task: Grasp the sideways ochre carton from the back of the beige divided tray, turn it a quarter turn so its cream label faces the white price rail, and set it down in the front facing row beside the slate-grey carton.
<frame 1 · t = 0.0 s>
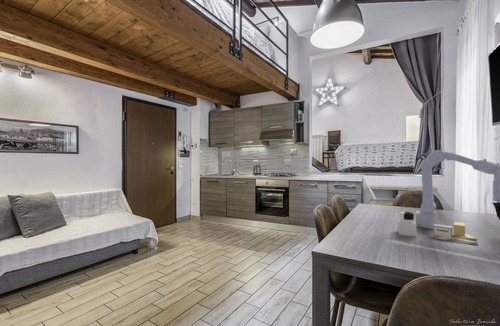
ochre carton: (459, 234, 116), point 1 cm above the table, touching beige divided tray
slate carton: (442, 237, 113), point 1 cm above the table, touching beige divided tray
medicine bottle: (406, 235, 118), on the table
beige divided tray: (453, 238, 114), on the table
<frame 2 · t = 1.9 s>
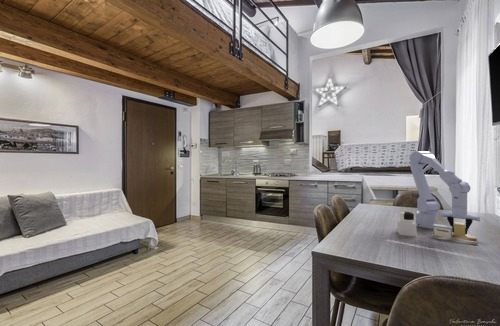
hand: (459, 233, 116), 2 cm above the table, fingers closed on ochre carton, 4 cm apart
ochre carton: (459, 234, 116), point 1 cm above the table, touching gripper, beige divided tray
everything else where it was.
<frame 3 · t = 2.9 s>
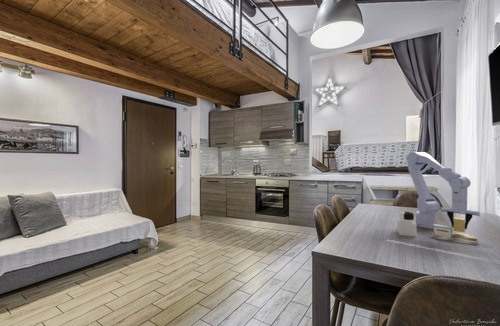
hand: (459, 228, 116), 4 cm above the table, fingers closed on ochre carton, 4 cm apart
ochre carton: (459, 229, 116), point 3 cm above the table, touching gripper
everything else where it was.
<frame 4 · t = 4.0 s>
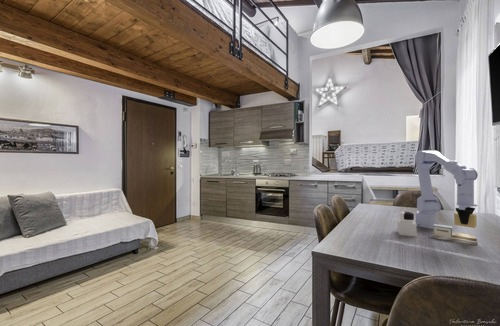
hand: (465, 223, 108), 9 cm above the table, fingers closed on ochre carton, 4 cm apart
ochre carton: (465, 225, 108), point 8 cm above the table, touching gripper
everything else where it was.
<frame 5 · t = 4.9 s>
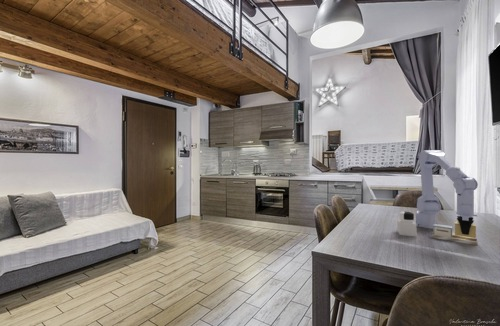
hand: (465, 233, 107), 5 cm above the table, fingers closed on ochre carton, 4 cm apart
ochre carton: (465, 235, 107), point 4 cm above the table, touching gripper
everything else where it was.
when the fingers open (3 cm above the table, at t = 5.6 s): ochre carton drops 1 cm, resting on beige divided tray.
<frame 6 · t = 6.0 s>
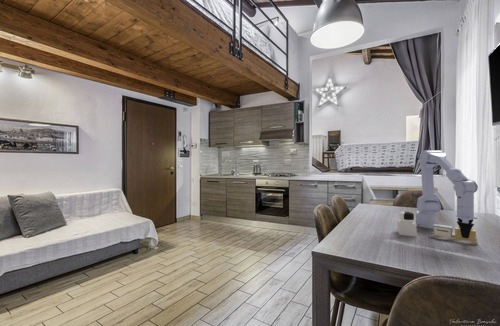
hand: (465, 235, 107), 3 cm above the table, fingers open, 7 cm apart
ochre carton: (465, 240, 107), point 1 cm above the table, touching beige divided tray
everything else where it was.
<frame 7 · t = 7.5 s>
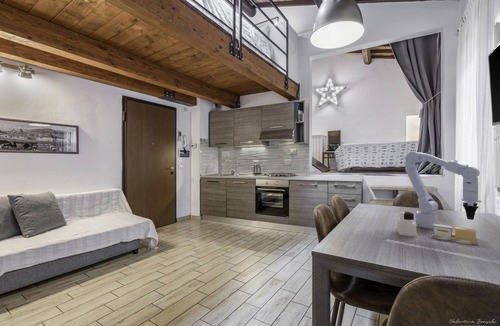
hand: (470, 218, 116), 9 cm above the table, fingers open, 7 cm apart
nothing on the table moved.
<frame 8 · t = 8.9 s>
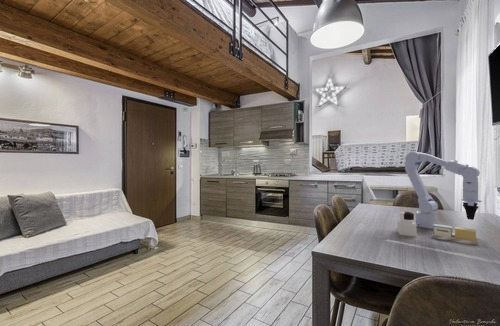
hand: (470, 218, 116), 9 cm above the table, fingers open, 7 cm apart
nothing on the table moved.
at the end: ochre carton inside the target area (0.3 cm from its centre), point 1.0 cm above the table; ochre carton tilted 0°; the gripper is holding nothing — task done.
